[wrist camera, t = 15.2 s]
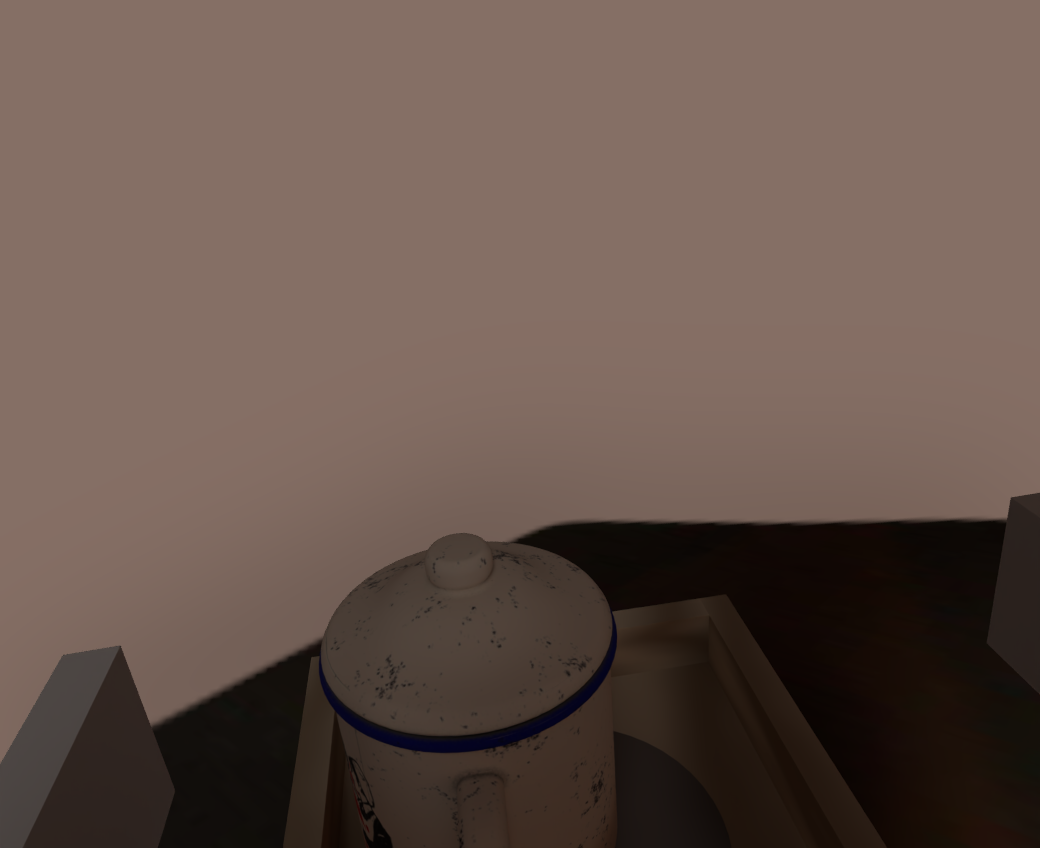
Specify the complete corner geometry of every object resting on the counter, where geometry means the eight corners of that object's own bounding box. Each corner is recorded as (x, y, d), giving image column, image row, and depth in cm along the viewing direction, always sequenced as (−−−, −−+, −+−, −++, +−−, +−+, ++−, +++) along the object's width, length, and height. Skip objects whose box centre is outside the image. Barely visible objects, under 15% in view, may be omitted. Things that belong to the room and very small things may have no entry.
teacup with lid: (372, 749, 32) (320, 491, 28) (598, 720, 33) (584, 462, 28) (339, 1096, 21) (244, 765, 17) (679, 1044, 22) (679, 708, 17)
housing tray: (724, 658, 37) (725, 594, 36) (982, 1116, 21) (1004, 1032, 19) (326, 721, 35) (311, 657, 34) (264, 1275, 19) (230, 1195, 18)
